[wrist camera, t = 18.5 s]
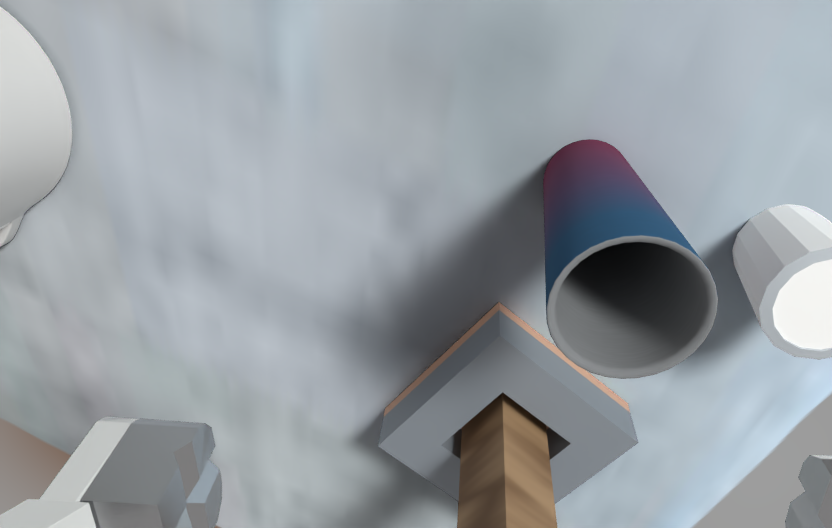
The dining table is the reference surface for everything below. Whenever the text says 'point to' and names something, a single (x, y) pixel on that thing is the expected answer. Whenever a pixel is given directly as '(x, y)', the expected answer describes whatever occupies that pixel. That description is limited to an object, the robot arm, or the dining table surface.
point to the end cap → (525, 384)
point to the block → (505, 470)
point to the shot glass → (789, 277)
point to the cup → (618, 269)
